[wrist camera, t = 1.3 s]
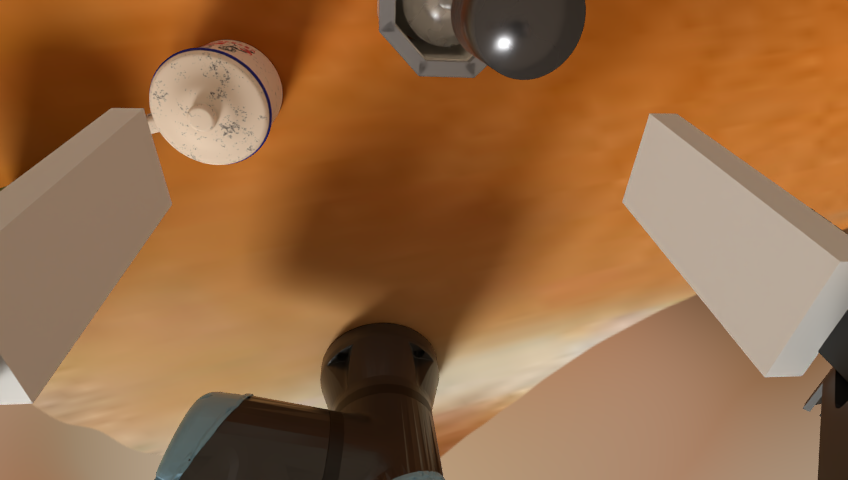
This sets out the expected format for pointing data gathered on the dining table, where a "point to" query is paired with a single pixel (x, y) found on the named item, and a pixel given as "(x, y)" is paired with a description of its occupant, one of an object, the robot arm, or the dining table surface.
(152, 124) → the teacup with lid
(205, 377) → the dining table surface
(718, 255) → the robot arm
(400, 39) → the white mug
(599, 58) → the dining table surface
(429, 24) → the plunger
